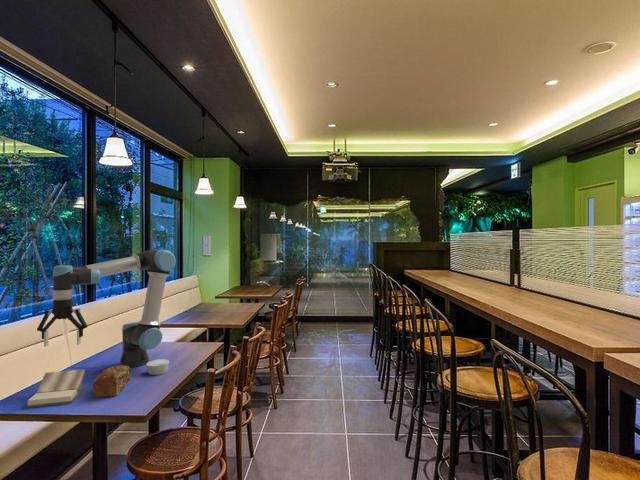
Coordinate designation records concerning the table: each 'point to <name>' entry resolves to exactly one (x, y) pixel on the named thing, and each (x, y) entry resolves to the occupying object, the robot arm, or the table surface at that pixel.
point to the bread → (111, 381)
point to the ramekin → (157, 366)
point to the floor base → (54, 397)
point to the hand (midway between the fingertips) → (62, 345)
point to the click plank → (61, 381)
